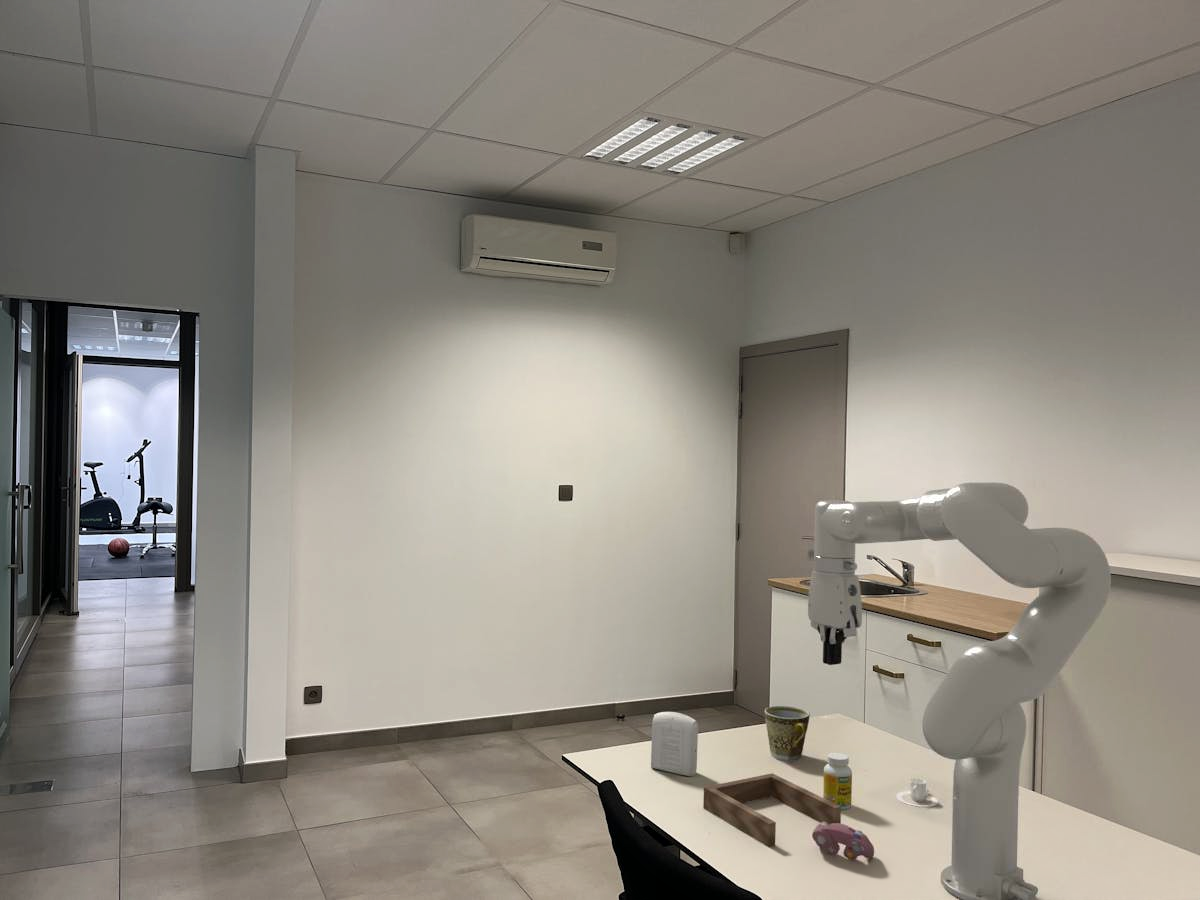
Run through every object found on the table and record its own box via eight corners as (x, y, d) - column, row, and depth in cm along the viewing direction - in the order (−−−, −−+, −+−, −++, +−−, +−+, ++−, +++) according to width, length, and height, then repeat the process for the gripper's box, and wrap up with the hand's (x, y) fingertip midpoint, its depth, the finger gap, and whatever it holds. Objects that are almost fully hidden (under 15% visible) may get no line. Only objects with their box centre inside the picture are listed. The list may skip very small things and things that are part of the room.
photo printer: (699, 772, 192) (701, 714, 192) (691, 778, 188) (693, 719, 188) (656, 763, 197) (657, 706, 197) (647, 769, 193) (649, 711, 193)
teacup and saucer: (914, 790, 185) (914, 770, 185) (948, 802, 179) (949, 782, 179) (887, 799, 180) (888, 778, 180) (922, 812, 174) (923, 791, 174)
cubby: (840, 828, 164) (841, 806, 164) (768, 846, 156) (769, 823, 156) (771, 793, 181) (772, 773, 181) (703, 808, 172) (703, 787, 172)
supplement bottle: (836, 797, 179) (837, 749, 179) (857, 807, 175) (858, 757, 175) (817, 803, 176) (818, 754, 176) (838, 812, 172) (839, 762, 172)
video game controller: (812, 859, 155) (807, 829, 152) (820, 838, 159) (815, 809, 156) (870, 874, 150) (865, 843, 147) (877, 853, 153) (873, 822, 151)
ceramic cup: (755, 750, 207) (756, 707, 207) (794, 747, 210) (795, 704, 210) (783, 770, 194) (784, 723, 194) (824, 766, 197) (825, 720, 197)
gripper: (878, 570, 164) (876, 670, 164) (820, 560, 177) (818, 653, 177) (849, 572, 161) (846, 674, 161) (791, 562, 174) (789, 657, 174)
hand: (832, 663), depth 169 cm, fingers closed
